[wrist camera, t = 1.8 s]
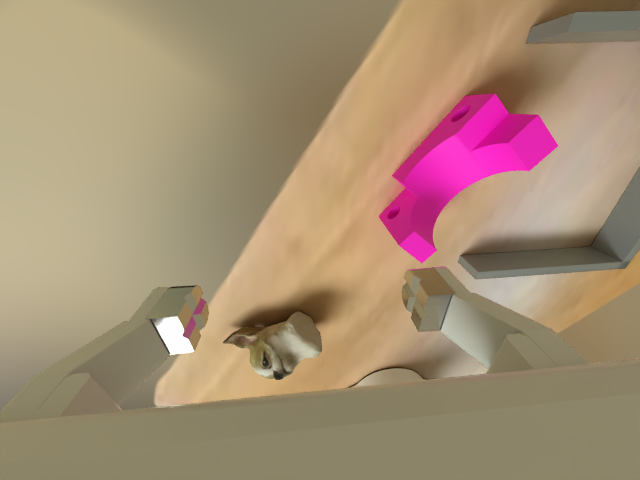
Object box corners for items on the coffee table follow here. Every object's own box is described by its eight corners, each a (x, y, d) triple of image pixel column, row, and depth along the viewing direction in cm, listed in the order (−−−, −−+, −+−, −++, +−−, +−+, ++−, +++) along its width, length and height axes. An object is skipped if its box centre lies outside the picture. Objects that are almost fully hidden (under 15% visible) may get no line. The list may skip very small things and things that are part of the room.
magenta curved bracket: (464, 95, 24) (523, 91, 18) (495, 136, 27) (558, 145, 20) (364, 204, 30) (382, 232, 23) (397, 231, 32) (422, 263, 25)
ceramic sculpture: (341, 382, 32) (255, 410, 36) (336, 329, 40) (265, 357, 44) (298, 339, 28) (205, 377, 32) (302, 289, 35) (226, 324, 39)
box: (593, 252, 36) (625, 268, 32) (458, 262, 35) (475, 279, 31) (741, 22, 23) (821, 6, 19) (531, 27, 22) (575, 11, 18)
